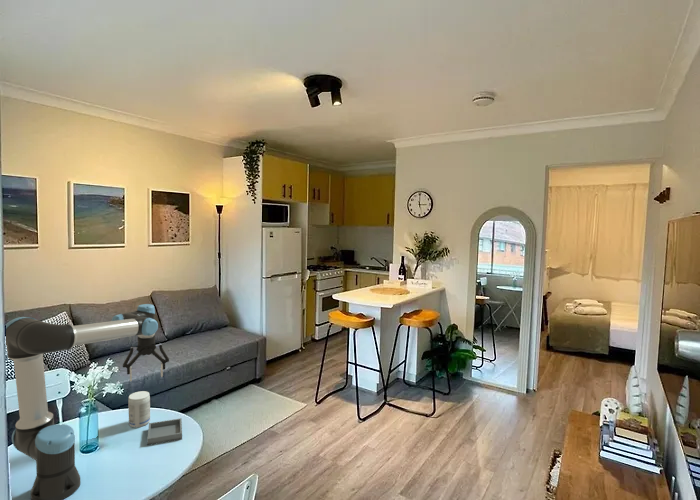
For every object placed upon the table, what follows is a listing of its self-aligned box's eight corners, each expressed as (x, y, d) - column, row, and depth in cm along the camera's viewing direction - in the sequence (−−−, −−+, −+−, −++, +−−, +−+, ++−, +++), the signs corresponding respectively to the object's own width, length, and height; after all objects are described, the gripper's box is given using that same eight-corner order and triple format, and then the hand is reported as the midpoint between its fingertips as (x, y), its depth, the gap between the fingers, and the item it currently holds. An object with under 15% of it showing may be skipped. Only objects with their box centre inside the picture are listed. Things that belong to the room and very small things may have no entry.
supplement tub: (151, 417, 206) (151, 389, 205) (149, 426, 197) (149, 397, 196) (130, 419, 202) (130, 392, 201) (126, 429, 194) (126, 400, 192)
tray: (147, 445, 181) (147, 438, 181) (149, 429, 195) (149, 423, 194) (182, 439, 187) (182, 433, 187) (181, 423, 201) (181, 418, 200)
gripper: (116, 341, 185) (116, 385, 187) (174, 335, 196) (174, 376, 198) (117, 336, 191) (117, 379, 193) (173, 331, 203) (173, 371, 205)
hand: (146, 378), depth 196 cm, fingers open, 13 cm apart
